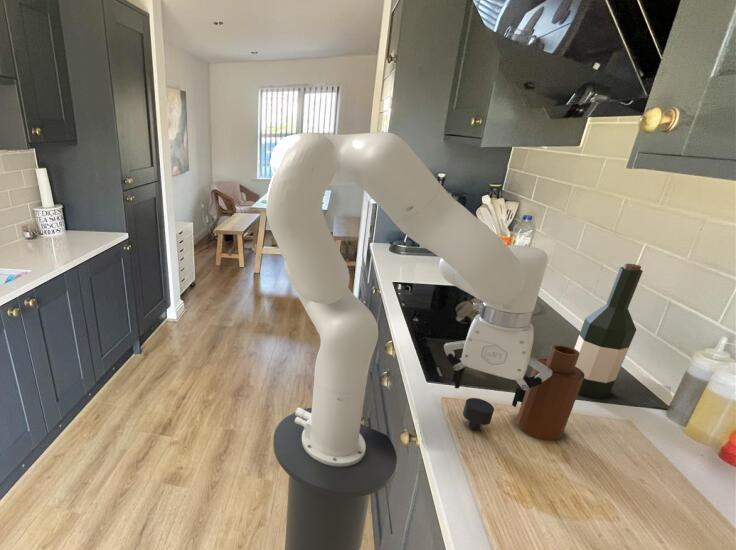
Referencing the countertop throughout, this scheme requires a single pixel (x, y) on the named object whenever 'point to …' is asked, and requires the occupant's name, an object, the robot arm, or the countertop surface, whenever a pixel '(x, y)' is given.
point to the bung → (477, 412)
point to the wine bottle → (607, 336)
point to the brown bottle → (552, 396)
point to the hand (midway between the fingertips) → (485, 393)
